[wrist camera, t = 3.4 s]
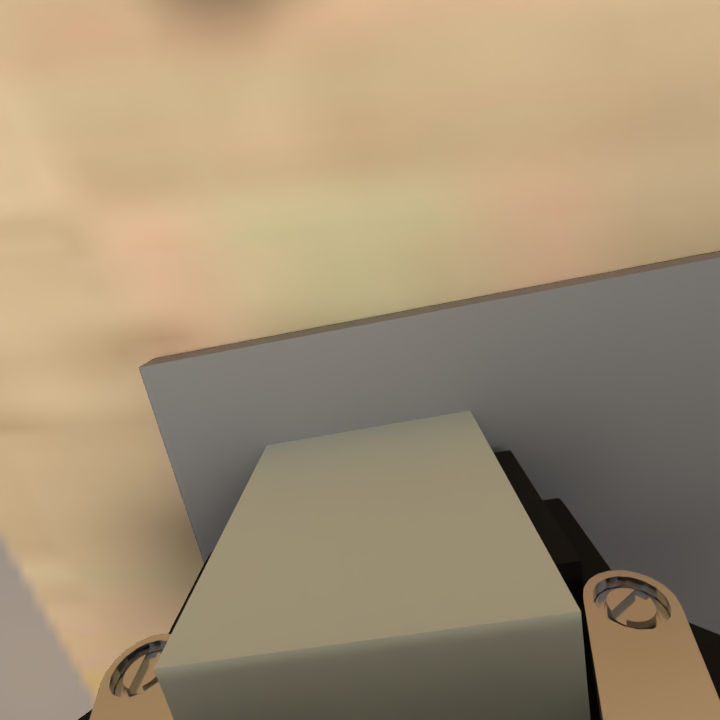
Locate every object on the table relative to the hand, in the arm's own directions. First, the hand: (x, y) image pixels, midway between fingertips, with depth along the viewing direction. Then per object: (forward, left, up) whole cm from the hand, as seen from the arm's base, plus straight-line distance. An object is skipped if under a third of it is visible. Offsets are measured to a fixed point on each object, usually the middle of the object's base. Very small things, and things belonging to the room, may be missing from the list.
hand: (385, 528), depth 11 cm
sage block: (0, 0, 0) cm, 0 cm away
